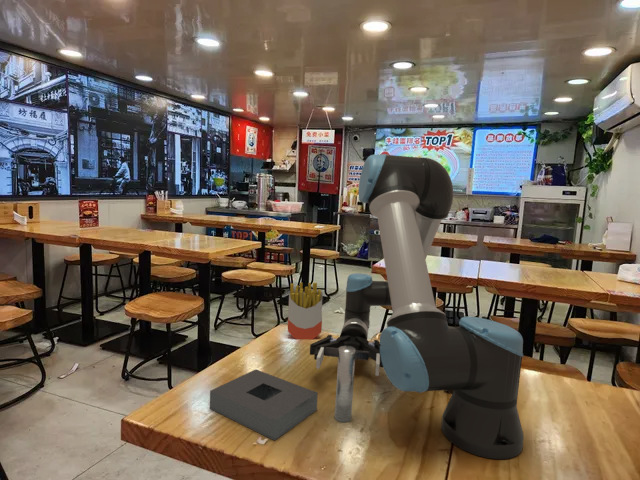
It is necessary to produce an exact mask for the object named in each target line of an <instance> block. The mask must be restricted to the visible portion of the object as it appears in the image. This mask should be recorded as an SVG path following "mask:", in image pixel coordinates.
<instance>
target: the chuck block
mask: <svg viewBox="0 0 640 480" xmlns="http://www.w3.org/2000/svg"><path fill="white" fill-rule="evenodd" d="M318 395H319V392H317V391H315V390H312V389H309V388H306V387H304V386H301V385H299V384H295V383H294V382H290V381H288V380H285V379H282V378H280V377H277V376H275V375H273V374H272V375H271V374H269V373H268V372H267V373H266V372H264V371H261V370H259V369H256V368H255V369H253V370H251V371H249V372H247V373H245V374H243V375H240V376H239V377H237V378H234V379H232V380H230V381H228V382H226V383H223V384H222V385H220V386H218V387H216V388H212V389H211V390H209V410H211V411H213V412H215V413H217V414H219V415H222V416H224V417H226V418H228V419H230V420H232V421H234V422H236V423H238V424H240V425H241V426H244V427H246V428H248V429H250V430H252V431H254V432H256V433H259V434H260V435H262V436H264V437H266V438H268V439H270V440H272V441H274V442H275V441H276V440H278V439H280V438H281V437H282V436H283V435H284V434H286V433H288V432H289V431H290V430H291V429H293V428H295V426H297V425H298V424H300V423H301V422H303V421H304V420H305V419H307V418H308V417H310V416H311V415H312V414H313V413H315V412H316V411H318V408H317V407H318Z"/></svg>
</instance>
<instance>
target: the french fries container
mask: <svg viewBox="0 0 640 480" xmlns="http://www.w3.org/2000/svg"><path fill="white" fill-rule="evenodd" d="M303 284H304V283H303V282H302V281H300V282H299V285H296V286H295V284H294V283H290V286H289V287H290V289H289V292H288V310H287V311H288V312H287V314H288V315H287V332H288V333H289V334H290V335H291V336H292V337H293V338H294V339H295V340H311V341H312V340H314V339H315V338H316V337H318V335H319V336H320V334H321V333H322V329H323V328H322V327H323V295H324V293H323V292H322V290H321V289H318V283H317V282H312V283H311V282H308V283H307V284H308V286H305V287H304V286H303ZM294 286H295V287H294ZM303 287H304V288H303ZM294 288H295V289H294Z"/></svg>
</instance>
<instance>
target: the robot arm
mask: <svg viewBox="0 0 640 480" xmlns="http://www.w3.org/2000/svg"><path fill="white" fill-rule="evenodd" d="M358 200H359V201H360V203H363V204H368V207H369V212H370V214H371V215H372V216H373V217H375V218H377V224H378V229H379V235H380V241H381V248H382V254H383V259H384V265H385V266H384V267H385V272H386V277H387V279H386V280H387V281H386V280H385V281H383V280H382V281H381V280H373V276H371V275H370V274H367V273H361V272H360V273H359V272H358V273H356V272H355V273H351V274H349V275H348V276H347V280H346V287H345V306H344V307H345V308H344V321H343V326H342V328H341V332H340V335H339V336H338V337H337V338H334V337H333V335H331V334H328V335H326V337H324V338H321V339H319V340H317V341H314V342H313V343H310V345H309V355H310V356H313V357H314V361H315V360H316V363H315V365H316V366H315V367H316V368H315V369H317V370H320V368H321V366H322V362H323V360H324V356H325V347H331V348H339V347H341V346H351V347H353V348H355V349H356V350H359V351H368V352H369V358H370V359H371V360H373V361H375V372H374V373H375V376H378V377H379V376H380V368H383V370H384V373H385V374H386V377H387V379H388V380H389V382H390V383H391V384H392V385H393V387H395V388H396V389H398V390H400V391H402V392H416V393H420V394H421V393H424V392H435V391H438V392H439V391H447V390H454V391H453V394H451V396H450V398H449V400H448V403H447V405H446V407H445V409H444V411H443V413H442V416H441V417H442V418H441V426H440V428H441V432H442V433H443V435H444V437H446V438H447V440H448V441H449V442H450V443H452V444H453V445H455V446H456V447H457V448H459V449H461V450H462V451H466V452H467V453H470V454H473V455H475V456H477V457H478V456H479V457H482V458H487V459H492V460H506V459H512V458H515V457H517V456H518V455H520V454H521V453H522V451H523V447H524V431H523V428H522V423H521V419H520V415H519V411H518V398H519V389H520V388H519V387H520V377H521V372H522V371H521V369H522V361H523V357H524V353H523V350H524V349H523V347H524V345H523V344H524V339H523V336H522V334H521V333H520V332H519V331H518V330H516V329H515V328H513V327H511V326H509V325H507V324H503V323H501V322H498V321H495V320H491V319H487V318H482V317H476V316H463V317H461V318H460V319H459V321H458V324H459V326H449V325H448V320H447V316H446V313H445V312H443V311H442V310H441V309H439V308H437V306H436V302H435V297H434V292H433V288H432V283H431V279H430V275H429V270H428V266H427V261H426V259H427V257H428V254H429V251H430V250H431V247H432V244H433V242H434V241H435V238H436V234H437V232H438V230H439V227H440V225H441V223H442V220H445V219H447V218H448V216H449V214H450V210H451V209H452V205H453V201H454V186H453V182H452V178H451V176H450V173H449V172H448V171H447V170H446V168H445V167H444V166H443V165H442V164H441V163H440V162H438V161H437V160H435V159H433V158H429V157H419V156H418V157H416V156H406V155H404V156H403V155H393V154H387V153H386V154H385V153H383V154H370V155H369V156H367V158H366V159H365V161H364V163H363V166H362V169H361V173H360V177H359V182H358ZM371 307H391V310H392V314H391V316H390V317H389V318H388V319H387V320H386V327H385V328H384V329H383V330H382V331H381V333H380V335H379V336H380V337H379V340H378V339H374V341H372V342H370V341H368V338H369V337H368V335H369V329H370V323H371V322H370V315H371V314H370V313H371Z"/></svg>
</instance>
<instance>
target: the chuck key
mask: <svg viewBox="0 0 640 480" xmlns="http://www.w3.org/2000/svg"><path fill="white" fill-rule="evenodd" d="M324 356H325V357H334V358H337V368H336V369H337V371H336V372H337V373H336V374H337V375H336V388H335V403H334V404H335V405H334V419H335V421H337V422H339V423H348V422H351V420H352V413H353V412H352V410H353V397H354V396H353V395H354V383H355V382H354V381H355V380H354V379H355V367H356V366H355V365H356V360H360V361H368V362H369V352H368V351H359V350H356V349H355V348H353V347H351V346H341V347H339V348H331V347H325V355H324Z"/></svg>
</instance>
